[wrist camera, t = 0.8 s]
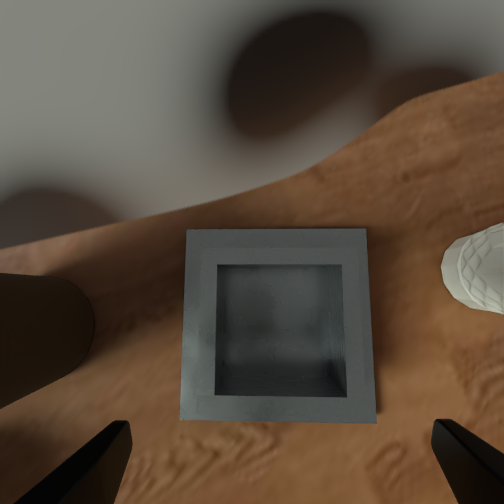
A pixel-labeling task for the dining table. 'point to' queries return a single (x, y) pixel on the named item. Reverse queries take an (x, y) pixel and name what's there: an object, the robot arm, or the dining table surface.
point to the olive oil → (40, 332)
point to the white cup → (477, 269)
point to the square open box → (277, 326)
